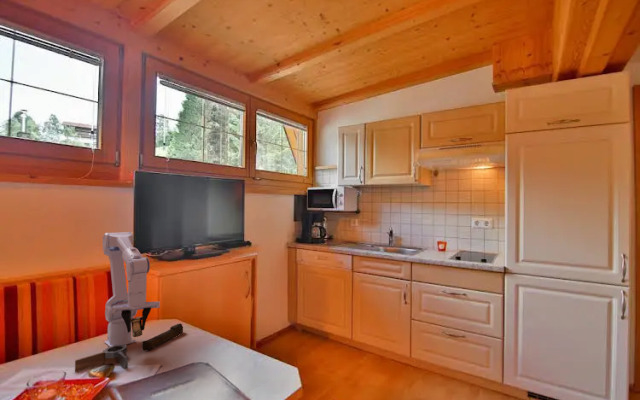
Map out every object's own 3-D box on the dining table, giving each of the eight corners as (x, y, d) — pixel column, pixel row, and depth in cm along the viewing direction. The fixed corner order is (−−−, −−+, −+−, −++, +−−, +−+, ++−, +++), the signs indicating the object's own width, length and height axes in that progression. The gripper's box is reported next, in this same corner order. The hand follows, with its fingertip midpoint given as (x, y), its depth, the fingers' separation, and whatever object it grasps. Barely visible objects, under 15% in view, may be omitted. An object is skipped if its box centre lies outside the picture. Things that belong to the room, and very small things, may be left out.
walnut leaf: (72, 368, 99) (73, 357, 99) (122, 353, 110) (122, 343, 110) (77, 374, 95) (78, 363, 95) (128, 358, 106) (129, 348, 106)
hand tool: (148, 352, 111) (149, 339, 111) (140, 351, 112) (141, 338, 112) (187, 334, 129) (188, 322, 129) (180, 332, 130) (180, 321, 130)
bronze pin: (131, 334, 109) (130, 318, 109) (144, 332, 111) (143, 315, 111) (130, 338, 106) (129, 321, 106) (143, 335, 107) (142, 318, 108)
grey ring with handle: (100, 359, 105) (101, 349, 105) (122, 353, 110) (122, 343, 110) (114, 372, 96) (115, 361, 96) (137, 365, 101) (137, 354, 101)
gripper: (110, 296, 102) (109, 337, 102) (159, 292, 108) (158, 331, 108) (115, 292, 109) (113, 330, 108) (160, 288, 115) (159, 324, 114)
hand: (136, 330), depth 108 cm, fingers closed on bronze pin, 4 cm apart
